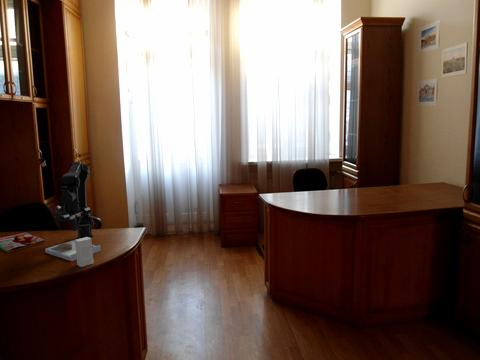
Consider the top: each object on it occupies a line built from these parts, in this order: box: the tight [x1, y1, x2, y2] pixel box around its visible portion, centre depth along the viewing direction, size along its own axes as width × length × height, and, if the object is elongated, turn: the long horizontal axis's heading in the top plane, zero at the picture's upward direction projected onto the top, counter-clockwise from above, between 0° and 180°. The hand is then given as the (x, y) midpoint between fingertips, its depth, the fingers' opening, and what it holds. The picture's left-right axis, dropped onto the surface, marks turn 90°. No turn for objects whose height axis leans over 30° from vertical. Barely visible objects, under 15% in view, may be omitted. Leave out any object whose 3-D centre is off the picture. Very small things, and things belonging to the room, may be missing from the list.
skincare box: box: [74, 237, 94, 268], centre depth 180 cm, size 6×4×12 cm
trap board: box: [44, 239, 102, 262], centre depth 198 cm, size 16×22×3 cm
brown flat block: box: [57, 242, 72, 252], centre depth 196 cm, size 4×4×2 cm
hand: (74, 230), depth 200 cm, fingers closed
